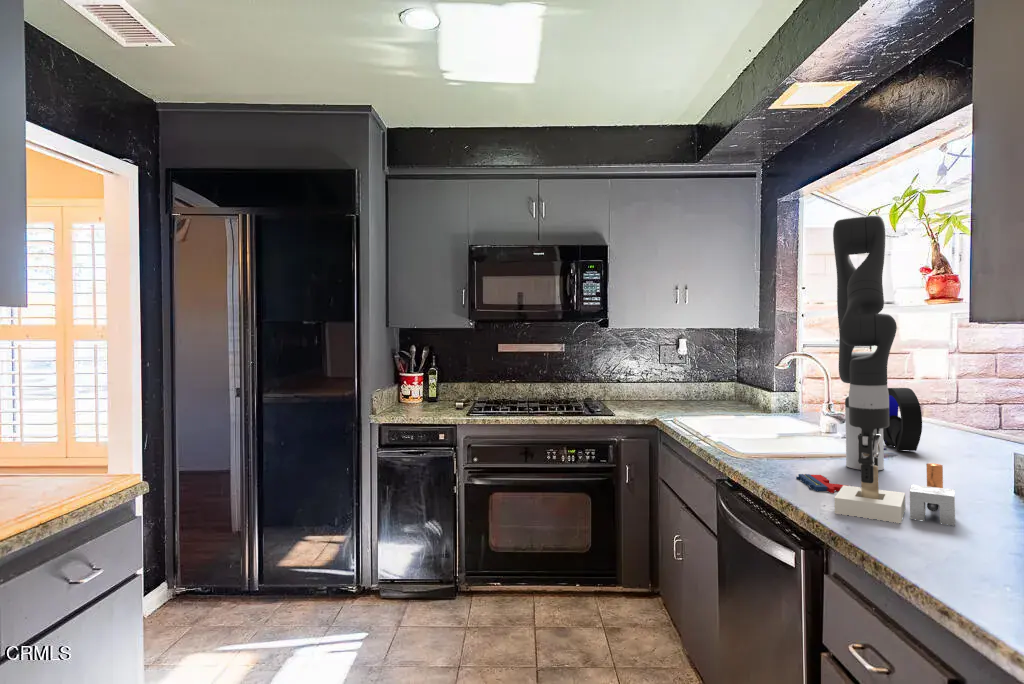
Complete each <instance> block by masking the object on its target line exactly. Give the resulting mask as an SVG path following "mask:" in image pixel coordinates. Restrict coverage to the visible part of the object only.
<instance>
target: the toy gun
mask: <svg viewBox="0 0 1024 684" xmlns="http://www.w3.org/2000/svg"><path fill="white" fill-rule="evenodd" d="M795 479H796V480H800V482H802V483H803V484H804V485H805V484H806V485H805V486H808V487H809V486H810V487H809V488H808V489H809V490H813V489H814V490H813V491H815V492H819V491H828V492H827V493H829V492H830V494H834V493H835V492H839V491H840V489H841V488H842V486H843V485H844V484H840V483H832V482H831V483H830V479H828V478H827V477H825V476H824V475H821V474H809V473H808V474H807V473H805V474H803V473H798V476H796V477H795ZM845 485H846V486H850V485H848V484H845ZM835 490H836V491H835Z"/></svg>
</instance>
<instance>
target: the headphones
mask: <svg viewBox="0 0 1024 684" xmlns="http://www.w3.org/2000/svg"><path fill="white" fill-rule="evenodd" d="M888 392H889V427H887V428H883V444H884V445H885V446H886V447H892V446H895V447H894V448H895V451H900V450H909V451H908V452H910V451H911V452H912V451H917V450H918V446H919V444H920V442H921V436H922V432H923V415H922V409H921V404H920V402H919V400H918V397H917V394H916V393H915V391H913V389H911V388H909V387H888ZM899 412H900V416H899Z"/></svg>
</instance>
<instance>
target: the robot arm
mask: <svg viewBox="0 0 1024 684" xmlns="http://www.w3.org/2000/svg"><path fill="white" fill-rule="evenodd" d="M832 241H833V251H834V259H835V260H834V261H835V267H836V268H835V269H836V280H837V281H836V284H837V285H836V302H837V304H836V307H837V320H838V321H837V323H838V330H839V331H838V332H839V333H838V335H839V343H838V344H839V345H838V347H839V349H838V375H839V379H840V380H841V382H843V383H845V384H849V390H848V396H846V398H845V399H844V400H845V401H844V406H845V407H844V411H845V415H844V417H845V418H844V419H845V465H846V467H848V468H850V469H855V470H860V481H862V482H864V483H873V481H874V472H873V466H874V465H876V466H878V471H882V470H884V468H885V463H884V462H885V460H884V452H885V451H884V445H885V444H884V440H883V428H887V427H889V392H888V388H889V387H888V361H889V356H890V352H891V348H892V346H893V342H894V340H895V337H896V333H897V322H896V320H895V318H894V317H893V316H892V315H891V314H889V313H881V312H882V311H883V309H884V306H885V299H884V287H883V272H884V267H885V266H884V265H885V255H886V254H885V253H886V225H885V221H884V219H883V218H882V217H881V216H880V215H864V216H855V217H854V216H853V217H847V218H841V219H838V220H837V221H836V222H835V223H834V224H833V231H832ZM862 254H863V255H865V254H868V255H867V256H866V257H865V259H864V260H863V261H862V262H861V263H860V264H859V266H858V267H855V265H854V263H853V262H852V259H851V257H850V255H862ZM855 347H876V349H875V351H854V349H855Z"/></svg>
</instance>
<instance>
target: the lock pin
mask: <svg viewBox="0 0 1024 684" xmlns="http://www.w3.org/2000/svg"><path fill="white" fill-rule="evenodd" d="M943 465H944V464H940V463H933V462H931V463H926V486H927V487H936V488H944V480H943V479H944V471H943V469H944V468H943V467H944V466H943ZM926 508H927V510H929V511H930V512H936V511H937V512H938V511H939V509H940V505H939V504H932V503H926Z"/></svg>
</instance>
